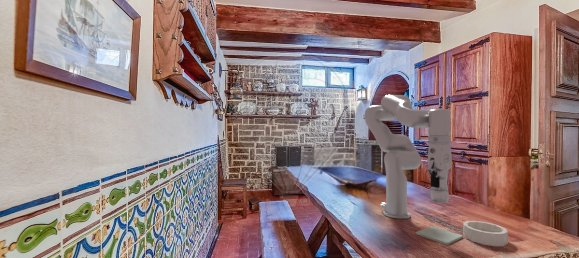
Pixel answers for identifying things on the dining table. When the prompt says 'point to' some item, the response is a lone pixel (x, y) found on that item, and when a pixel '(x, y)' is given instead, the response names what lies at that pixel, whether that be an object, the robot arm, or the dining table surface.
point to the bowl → (485, 233)
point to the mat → (439, 235)
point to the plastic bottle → (441, 187)
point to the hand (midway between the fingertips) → (439, 185)
